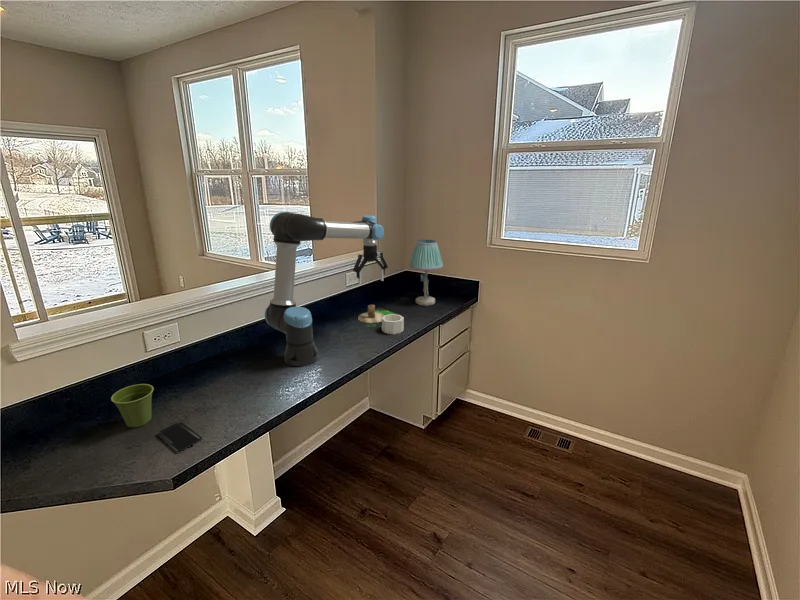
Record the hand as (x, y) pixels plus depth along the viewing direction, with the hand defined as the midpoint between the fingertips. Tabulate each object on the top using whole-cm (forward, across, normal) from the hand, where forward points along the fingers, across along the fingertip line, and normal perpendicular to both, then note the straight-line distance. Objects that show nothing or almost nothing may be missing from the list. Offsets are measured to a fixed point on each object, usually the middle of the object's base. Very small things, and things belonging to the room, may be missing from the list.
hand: (371, 282), depth 217 cm
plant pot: (+22, -110, -51) cm, 123 cm away
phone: (+22, -98, -67) cm, 121 cm away
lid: (+22, 0, 0) cm, 22 cm away
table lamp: (+22, +43, +10) cm, 49 cm away
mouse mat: (+23, +2, 0) cm, 23 cm away
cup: (+22, +3, -21) cm, 31 cm away
